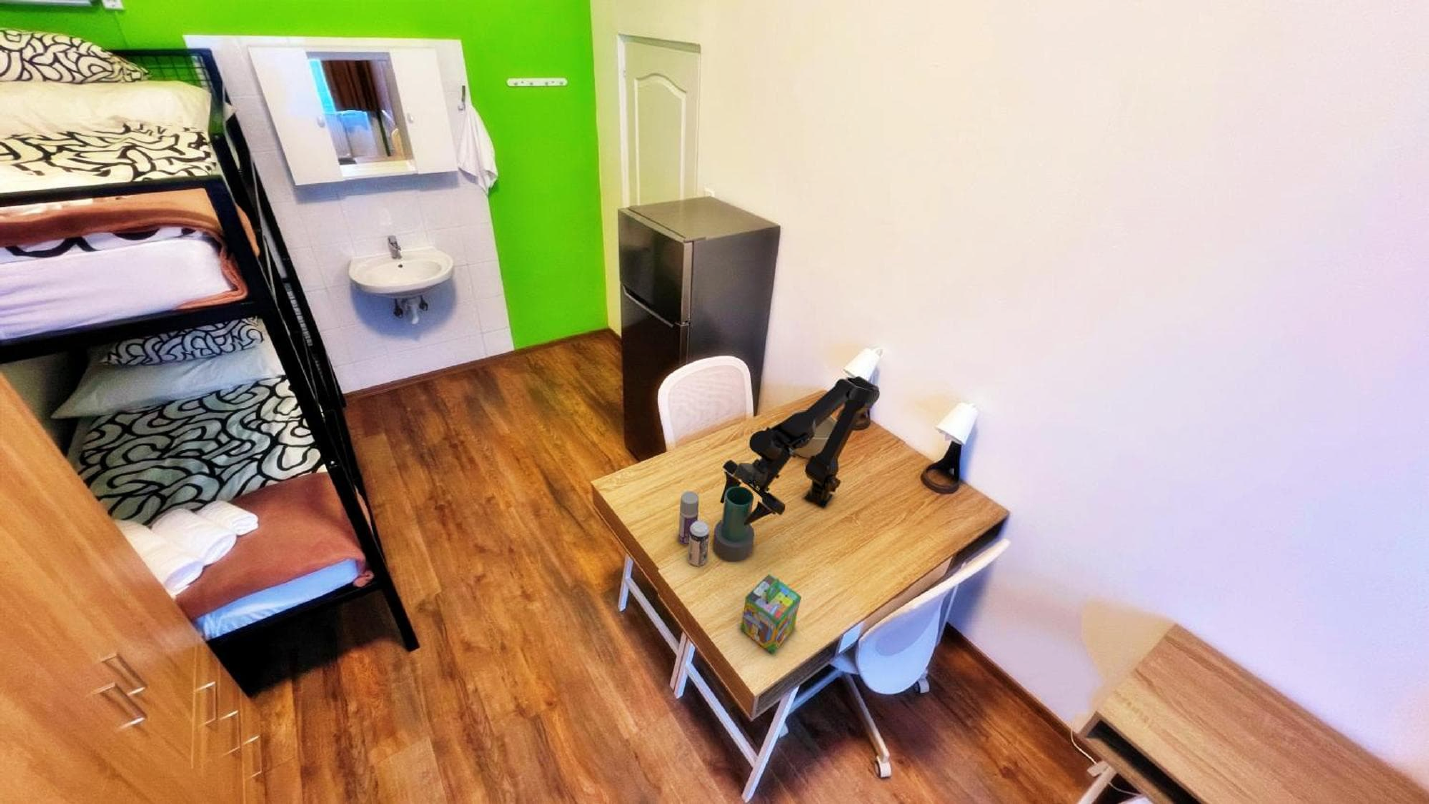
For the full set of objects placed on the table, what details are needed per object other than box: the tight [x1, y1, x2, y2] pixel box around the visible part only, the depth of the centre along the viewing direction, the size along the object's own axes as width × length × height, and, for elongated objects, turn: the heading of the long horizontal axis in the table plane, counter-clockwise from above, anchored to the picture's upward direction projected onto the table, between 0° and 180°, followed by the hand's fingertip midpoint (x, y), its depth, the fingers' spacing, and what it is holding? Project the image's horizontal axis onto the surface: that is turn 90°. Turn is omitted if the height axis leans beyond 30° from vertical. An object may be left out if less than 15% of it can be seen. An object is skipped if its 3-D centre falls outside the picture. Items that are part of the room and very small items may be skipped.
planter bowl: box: [788, 408, 837, 459], centre depth 179 cm, size 16×16×11 cm
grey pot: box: [712, 519, 755, 563], centre depth 144 cm, size 10×10×6 cm
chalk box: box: [740, 573, 802, 655], centre depth 122 cm, size 9×9×15 cm
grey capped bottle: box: [687, 519, 711, 567], centre depth 138 cm, size 5×5×12 cm
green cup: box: [721, 485, 755, 542], centre depth 139 cm, size 7×7×12 cm
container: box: [677, 490, 700, 547], centre depth 142 cm, size 5×5×15 cm
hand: (732, 513), depth 138 cm, fingers open, 9 cm apart
